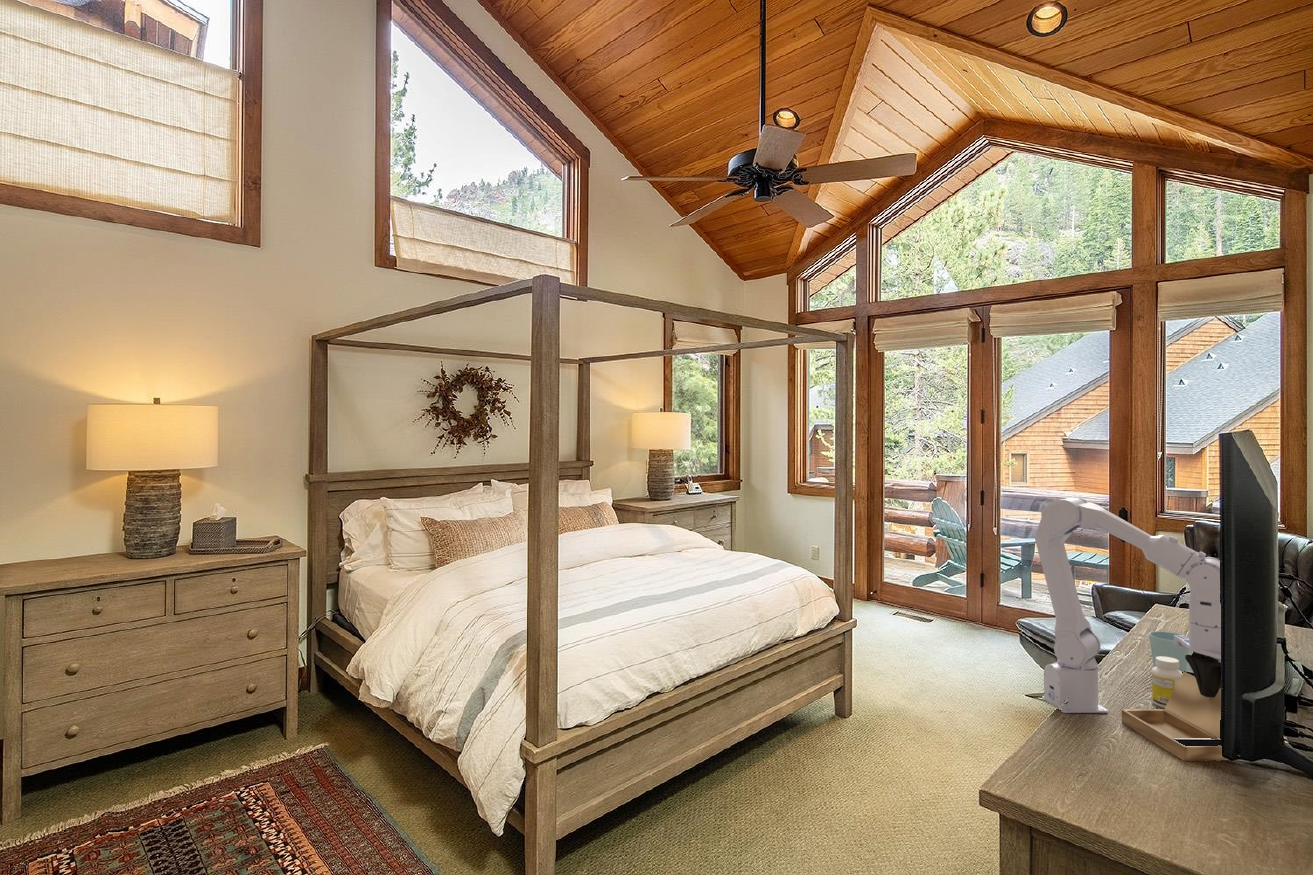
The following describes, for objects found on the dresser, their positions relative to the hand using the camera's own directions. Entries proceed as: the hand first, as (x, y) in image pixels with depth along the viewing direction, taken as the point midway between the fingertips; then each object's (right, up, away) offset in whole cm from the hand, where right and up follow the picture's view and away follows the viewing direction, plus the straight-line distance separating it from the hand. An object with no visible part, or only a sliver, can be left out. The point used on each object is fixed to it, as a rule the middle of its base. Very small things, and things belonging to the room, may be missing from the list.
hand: (1208, 695), depth 125 cm
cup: (+16, -8, +30) cm, 35 cm away
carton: (-7, -8, 0) cm, 11 cm away
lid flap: (0, -2, 0) cm, 2 cm away
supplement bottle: (+5, -8, +16) cm, 19 cm away
